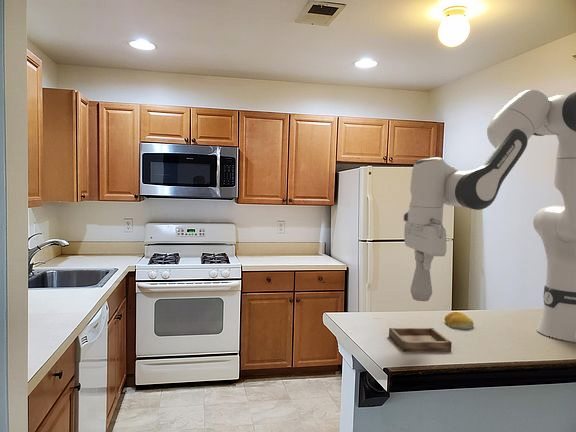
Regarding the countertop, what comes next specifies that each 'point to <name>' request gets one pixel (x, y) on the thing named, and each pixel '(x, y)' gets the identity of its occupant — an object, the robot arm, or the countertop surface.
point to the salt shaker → (421, 281)
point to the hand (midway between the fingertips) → (422, 267)
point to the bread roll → (458, 320)
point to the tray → (419, 339)
